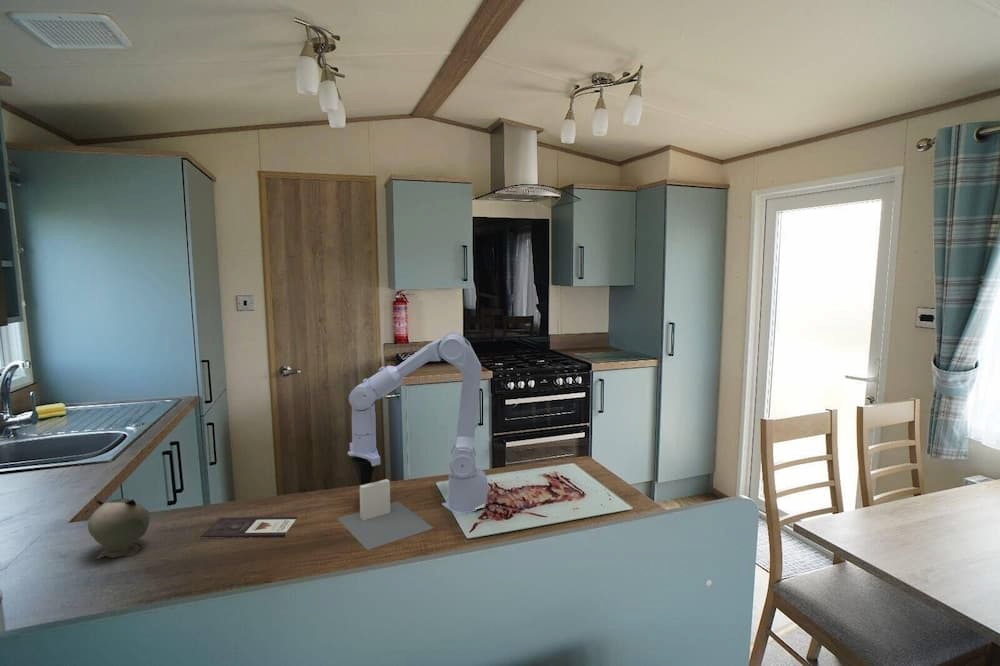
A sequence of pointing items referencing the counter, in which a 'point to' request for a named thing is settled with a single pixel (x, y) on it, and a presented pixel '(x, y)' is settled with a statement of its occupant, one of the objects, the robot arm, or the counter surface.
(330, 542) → the counter surface
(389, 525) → the mat
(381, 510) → the tile
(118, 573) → the counter surface
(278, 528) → the chocolate bar
